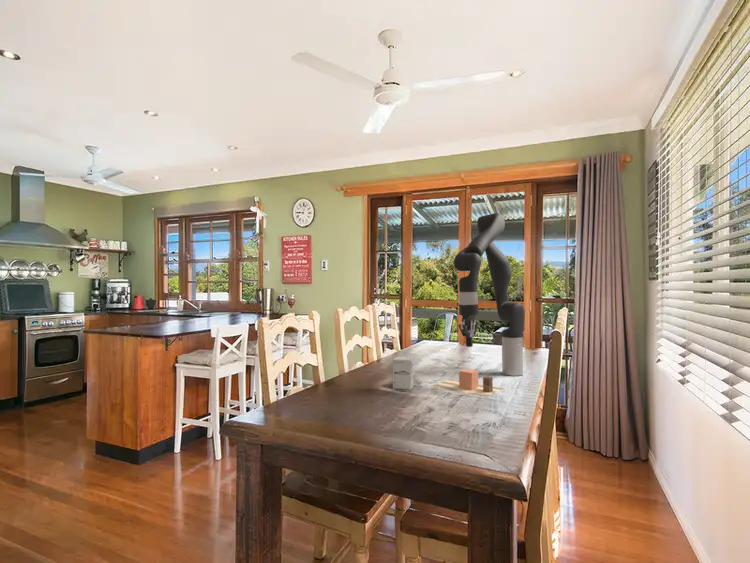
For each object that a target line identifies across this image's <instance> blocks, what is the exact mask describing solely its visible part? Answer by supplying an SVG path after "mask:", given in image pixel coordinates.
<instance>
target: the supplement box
mask: <svg viewBox="0 0 750 563" xmlns="http://www.w3.org/2000/svg"><path fill="white" fill-rule="evenodd" d="M413 386H414V357H413V356H395V357H394V358H393V359H392V392H405V393H408V391H406V390H412V388H413Z"/></svg>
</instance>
